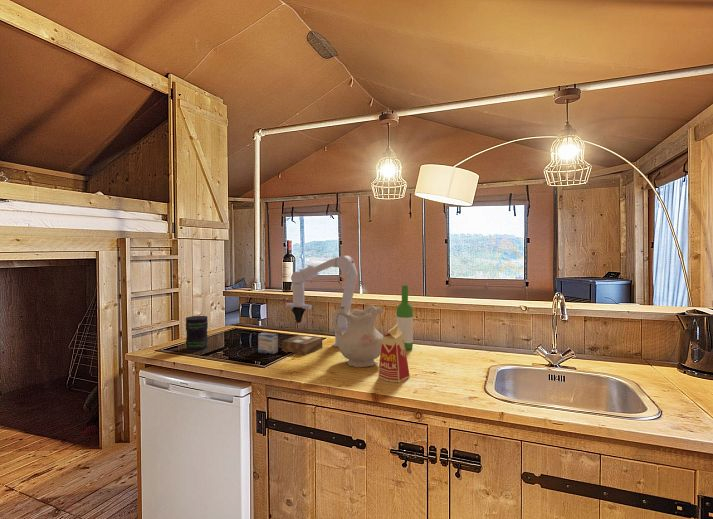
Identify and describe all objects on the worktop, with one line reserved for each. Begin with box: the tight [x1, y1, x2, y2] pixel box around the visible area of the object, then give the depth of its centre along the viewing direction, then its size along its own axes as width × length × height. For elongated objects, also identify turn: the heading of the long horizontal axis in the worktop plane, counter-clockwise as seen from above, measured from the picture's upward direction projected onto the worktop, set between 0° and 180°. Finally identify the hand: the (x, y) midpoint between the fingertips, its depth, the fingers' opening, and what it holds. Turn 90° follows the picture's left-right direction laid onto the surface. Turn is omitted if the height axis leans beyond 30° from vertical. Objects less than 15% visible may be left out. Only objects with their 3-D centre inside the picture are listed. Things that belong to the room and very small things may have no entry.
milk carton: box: [377, 323, 411, 384], centre depth 150 cm, size 9×9×20 cm
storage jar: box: [185, 315, 209, 352], centre depth 192 cm, size 10×10×15 cm
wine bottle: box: [396, 285, 414, 351], centre depth 192 cm, size 8×8×30 cm
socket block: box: [281, 334, 323, 356], centre depth 190 cm, size 13×14×5 cm
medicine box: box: [257, 332, 279, 355], centre depth 186 cm, size 8×4×9 cm, turn 73°
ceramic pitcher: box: [332, 304, 384, 369], centre depth 168 cm, size 22×20×25 cm
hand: (298, 322), depth 203 cm, fingers closed
